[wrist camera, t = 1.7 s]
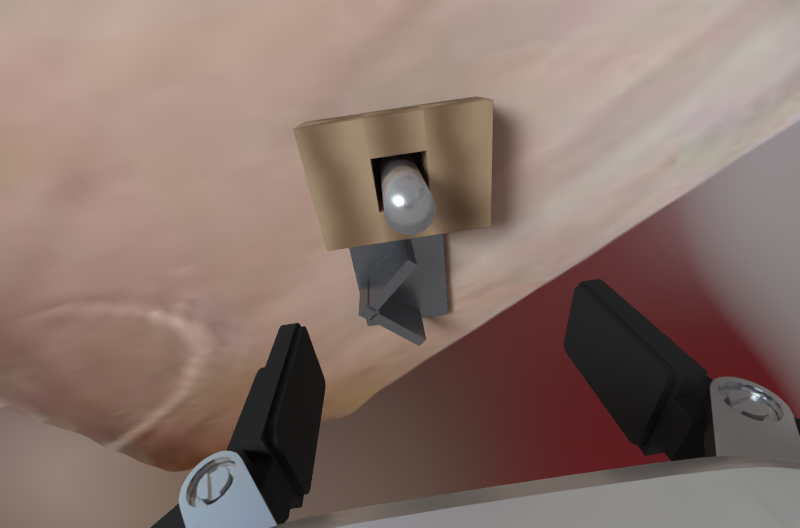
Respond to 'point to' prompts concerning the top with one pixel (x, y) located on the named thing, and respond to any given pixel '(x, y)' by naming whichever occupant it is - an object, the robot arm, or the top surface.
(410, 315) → the v block
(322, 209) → the wooden block with hole
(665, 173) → the top surface
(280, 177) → the top surface
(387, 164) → the axle
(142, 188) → the top surface
